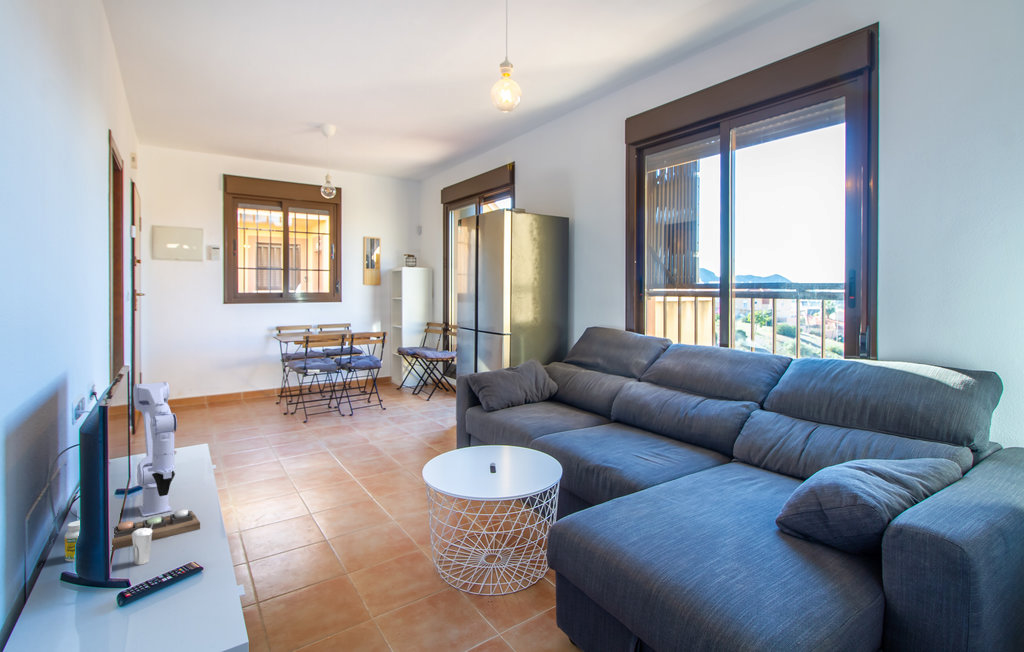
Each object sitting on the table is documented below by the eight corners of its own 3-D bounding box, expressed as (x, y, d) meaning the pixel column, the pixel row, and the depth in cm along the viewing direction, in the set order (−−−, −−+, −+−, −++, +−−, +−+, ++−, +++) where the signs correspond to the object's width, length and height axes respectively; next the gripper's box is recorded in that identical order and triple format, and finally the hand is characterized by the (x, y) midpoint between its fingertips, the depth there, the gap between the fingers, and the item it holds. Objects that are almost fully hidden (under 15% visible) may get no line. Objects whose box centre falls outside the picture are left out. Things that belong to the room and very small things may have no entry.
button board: (106, 535, 151) (106, 524, 151) (191, 516, 166) (191, 506, 166) (110, 550, 142) (110, 538, 142) (200, 528, 157) (200, 517, 157)
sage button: (146, 524, 154) (146, 519, 154) (160, 520, 156) (160, 515, 156) (148, 528, 151) (148, 522, 151) (162, 524, 154) (162, 519, 154)
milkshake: (159, 558, 138) (159, 522, 138) (139, 567, 133) (139, 530, 133) (147, 555, 140) (147, 520, 140) (127, 564, 135) (127, 527, 135)
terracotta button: (117, 528, 149) (117, 523, 149) (132, 525, 151) (132, 519, 151) (118, 532, 146) (118, 527, 146) (134, 529, 149) (134, 523, 149)
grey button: (173, 516, 159) (173, 511, 159) (186, 513, 161) (186, 508, 161) (175, 519, 156) (175, 514, 156) (189, 516, 158) (189, 511, 158)
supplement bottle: (91, 550, 142) (91, 517, 141) (88, 559, 137) (89, 524, 137) (66, 555, 139) (66, 521, 138) (62, 564, 134) (62, 528, 134)
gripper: (144, 449, 161) (144, 491, 162) (151, 460, 151) (151, 505, 151) (170, 446, 166) (170, 486, 167) (179, 456, 156) (179, 499, 156)
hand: (163, 495), depth 159 cm, fingers closed
